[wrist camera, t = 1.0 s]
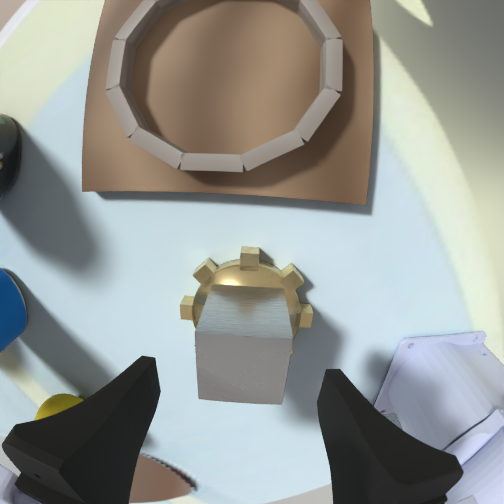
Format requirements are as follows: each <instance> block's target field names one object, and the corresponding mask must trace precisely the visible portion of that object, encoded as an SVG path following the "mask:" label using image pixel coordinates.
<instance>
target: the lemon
mask: <svg viewBox="0 0 504 504" xmlns="http://www.w3.org/2000/svg"><path fill="white" fill-rule="evenodd" d="M82 401H84V399H83V398H81V397H76V396H73V395H71V394H57V395H54V396H52V397H50V398H49V399H47V400H46V401H45V402H44V403H43V404H42V405H41V407H40V408H39V410H38V412H37V414H36V417H35V420H38V419H42V418H45V417H48V416H51V415H54V414H56V413H59V412H61V411H63V410H66V409H68V408H70V407H72V406H74V405H76V404H78V403H80V402H82Z"/></svg>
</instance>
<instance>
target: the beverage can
mask: <svg viewBox="0 0 504 504" xmlns="http://www.w3.org/2000/svg"><path fill="white" fill-rule="evenodd" d="M26 325H27V313H26V305H25V301H24V297H23V295H22V292H21V290H20V288H19V287H18V285H17V283H16V282H15V281H14V279H13V278H12V277H11V276H10V275H9V274H7V273H6V272H5V271H4V270H2V269H1V268H0V352H1V351H2V350H4V349H5V348H6V347H7V346H8V345H9V344H10V343H11V342H12V341H13V340H14V339H15V338H16V337H18V336H19V335H20V334H21V333H22V332H23V331H24V330H25V328H26Z"/></svg>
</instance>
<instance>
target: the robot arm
mask: <svg viewBox="0 0 504 504" xmlns="http://www.w3.org/2000/svg"><path fill="white" fill-rule="evenodd" d="M485 338H486V333H485V332H484V331H480V332H471V333H462V334H452V335H441V336H428V337H413V338H404V339H402V340H401V341H400V342H399V344H398V346H397V349H396V352H395V355H394V358H393V360H392V363H391V366H390V368H389V371H388V373H387V376H386V378H385V381H384V383H383V386H382V388H381V390H380V393H379V395H378V397H377V400H376V402H375V404H374V406H373V405H372V404H371V403H370V402H369V401H368V400H367V399H366V398H365V397H364V396H363V395H362V394H361V393H360V392H359V391H358V389H357V388H356V387H355V386H354V385H353V384H352V382H351V381H350V380H349V379H348V378H347V377H346V375H345V374H344V373H343V372H342V371H341V370H340V369H326V372H325V376H324V379H323V383H322V387H321V390H320V394H319V397H318V401H317V406H318V416H319V423H320V427H321V431H322V436H323V440H324V444H325V448H326V452H327V456H328V460H329V465H330V471H331V481H332V491H333V504H504V365H503V364H502V363H501V361H500V360H499V359H498V358H497V357H496V356H495V355H494V354H493V353H492V352H491V351H490V350H489V349H488V348H487V347H486V346H485V345H484V344H483V343H484V340H485ZM411 343H412V344H411ZM409 344H411V345H409ZM160 392H161V391H160V385H159V379H158V373H157V367H156V360H155V358H153V357H147V356H141V357H140V358H139V359H137V360H136V361H135V362H134V363H133V364H132V365H130V366H129V367H128V368H127V369H126V370H125V371H123V372H122V373H121V374H120V375H119V376H117V377H116V378H115V379H114V380H112V381H111V382H110V383H109V384H107V385H106V386H105V387H103V388H102V389H100V390H99V391H98V392H96V393H95V394H93V395H92V396H90V397H89V398H87V399H85V400H84V401H82V402H80V403H78V404H76V405H74V406H72V407H70V408H68V409H66V410H63V411H61V412H59V413H56V414H54V415H51V416H48V417H45V418H42V419H38V420H35V421H30V422H26V423H21V424H16V425H15V426H14V427H13V429H12V430H11V431H10V433H9V434H8V436H7V437H6V439H5V441H4V442H3V443H2V448H3V450H4V452H5V454H6V455H7V456H8V457H9V459H10V460H11V461H12V462H13V463H14V465H15V466H16V467H17V468H18V469H19V470H20V472H21V474H20V475H19V477H18V476H17V475H16V474H14V473H13V472H12V471H10V470H8V469H7V468H5V467H4V466H2V465H1V464H0V504H128V503H129V497H130V491H131V486H132V481H133V475H134V471H135V467H136V463H137V459H138V455H139V452H140V449H141V447H142V444H143V442H144V439H145V437H146V434H147V432H148V429H149V427H150V424H151V422H152V419H153V417H154V414H155V411H156V408H157V404H158V400H159V396H160ZM391 413H396V415H397V418H398V420H399V422H400V424H401V427H402V429H403V430H402V429H400V428H399V427H397V426H396V425H395V424H393V423H392V422H391V421H390V420H388V419H387V418H386V417H385V416H383V415H384V414H391Z"/></svg>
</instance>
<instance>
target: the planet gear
mask: <svg viewBox="0 0 504 504" xmlns="http://www.w3.org/2000/svg"><path fill="white" fill-rule="evenodd" d="M193 276H194V277H195V278H196V279H197V280H198V281H199V282H200V283H201V284H200V286H199V288H198V290H197V293H196V295H195V297H194V296H184V298H183V300H182V302H181V304H180V312H181V319H185V320H193V323H194V326H195V328H196V330H195V347H196V366H197V383H198V397H199V399H205V400H214V401H225V402H237V403H253V404H282V400H283V395H284V389H285V384H286V378H287V373H288V367H289V361H290V355H291V354H292V353H294V350H293V344H292V343H293V338H294V336H295V334H296V333H297V330H298V328H299V327H307V328H311V324H312V319H313V310H312V307H311V304H301V303H299V299H298V295H297V292H296V289H297V288H298V287H300V286H301V285H302V284H304V280H303V277H302V275H301V273H300V272H299V271H298V270H297V269H296V268H295V267H294V265H293V264H292V263H290V264H289V265H288V266H287V267H285V268H284V269H283V270H282V271H281V270H280V269H278V268H277V267H275V266H273V265H272V264H269V263H267V262H264V261H261V260H259V248H257V247H242V248H241V256H240V259H236V260H232V261H228V262H226V263H223V264H221V265H219V266H216V265H215V264H214V263H213V262H212V260H211V259H210V258H207V259H206V260H205V261H204V262H203V263H202V264H201V265H199V266H198V267H197V268H196V270H195V272H194V274H193Z"/></svg>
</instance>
